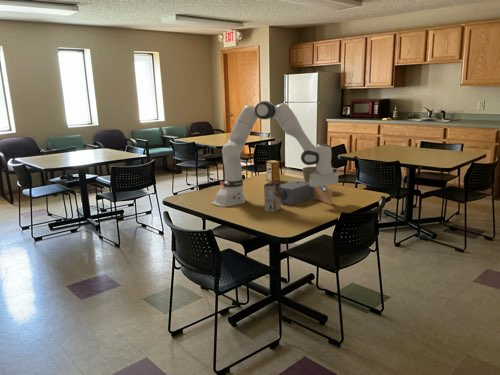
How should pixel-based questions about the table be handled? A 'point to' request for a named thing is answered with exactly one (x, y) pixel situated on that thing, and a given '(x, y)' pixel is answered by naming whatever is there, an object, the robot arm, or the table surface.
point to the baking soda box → (273, 171)
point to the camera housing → (295, 192)
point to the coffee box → (272, 196)
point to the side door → (322, 195)
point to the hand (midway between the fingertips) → (323, 192)
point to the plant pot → (308, 172)
